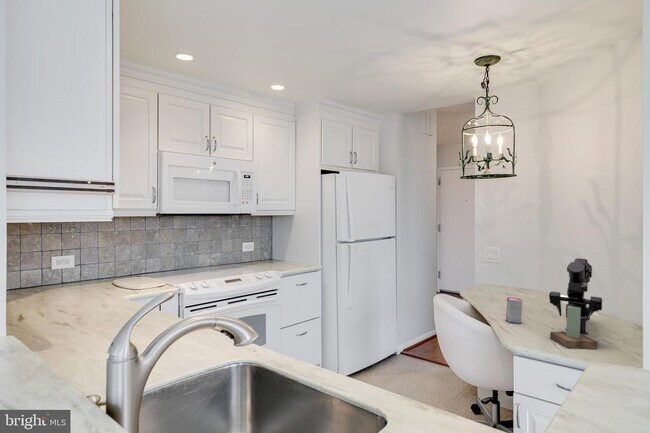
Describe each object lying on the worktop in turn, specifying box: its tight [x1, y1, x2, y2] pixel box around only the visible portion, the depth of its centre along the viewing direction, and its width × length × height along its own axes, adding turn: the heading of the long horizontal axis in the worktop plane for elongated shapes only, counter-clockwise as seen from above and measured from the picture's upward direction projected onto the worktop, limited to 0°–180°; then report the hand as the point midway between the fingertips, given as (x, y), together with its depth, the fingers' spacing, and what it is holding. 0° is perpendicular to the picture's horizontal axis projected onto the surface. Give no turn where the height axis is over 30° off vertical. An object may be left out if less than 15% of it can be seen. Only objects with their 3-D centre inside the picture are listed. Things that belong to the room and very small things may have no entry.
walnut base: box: [549, 331, 598, 350], centre depth 167 cm, size 12×12×3 cm
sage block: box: [565, 306, 581, 339], centre depth 166 cm, size 4×4×12 cm
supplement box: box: [505, 296, 523, 325], centre depth 197 cm, size 6×6×12 cm
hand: (573, 317), depth 165 cm, fingers open, 9 cm apart
